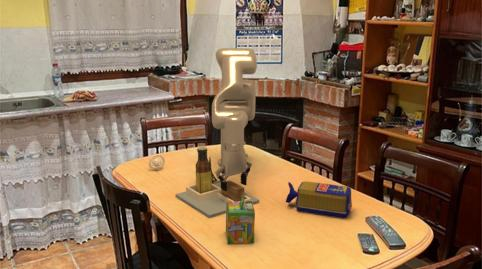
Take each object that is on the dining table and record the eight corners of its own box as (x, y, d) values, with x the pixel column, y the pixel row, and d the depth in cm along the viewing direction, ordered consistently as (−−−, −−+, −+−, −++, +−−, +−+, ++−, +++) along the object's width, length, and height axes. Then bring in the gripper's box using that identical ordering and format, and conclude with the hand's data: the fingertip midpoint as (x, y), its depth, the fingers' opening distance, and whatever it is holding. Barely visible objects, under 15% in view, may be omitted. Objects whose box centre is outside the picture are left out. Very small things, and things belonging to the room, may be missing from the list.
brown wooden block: (229, 193, 191) (229, 180, 189) (244, 201, 183) (244, 187, 182) (221, 196, 189) (221, 182, 187) (236, 204, 181) (236, 189, 179)
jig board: (223, 184, 205) (223, 175, 204) (259, 202, 186) (259, 192, 184) (175, 196, 191) (175, 187, 189) (209, 218, 171) (209, 207, 170)
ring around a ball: (163, 167, 225) (162, 151, 223) (168, 171, 220) (167, 155, 218) (147, 170, 221) (147, 154, 219) (152, 174, 216) (151, 157, 214)
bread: (348, 221, 170) (350, 195, 168) (283, 210, 179) (284, 185, 176) (352, 210, 179) (354, 185, 177) (290, 200, 188) (291, 176, 185)
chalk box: (225, 231, 161) (225, 192, 157) (251, 231, 162) (252, 191, 158) (227, 245, 153) (227, 203, 149) (254, 244, 153) (255, 202, 149)
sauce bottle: (214, 193, 191) (214, 147, 186) (207, 198, 186) (206, 151, 181) (200, 190, 194) (200, 145, 189) (193, 196, 188) (192, 149, 183)
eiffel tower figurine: (198, 189, 200) (197, 160, 196) (190, 181, 209) (189, 153, 205) (230, 184, 206) (230, 155, 202) (221, 176, 215) (221, 149, 211)
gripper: (245, 140, 188) (245, 179, 193) (210, 148, 178) (210, 189, 183) (257, 144, 183) (256, 185, 188) (221, 153, 173) (221, 195, 177)
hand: (233, 187), depth 185 cm, fingers open, 9 cm apart
